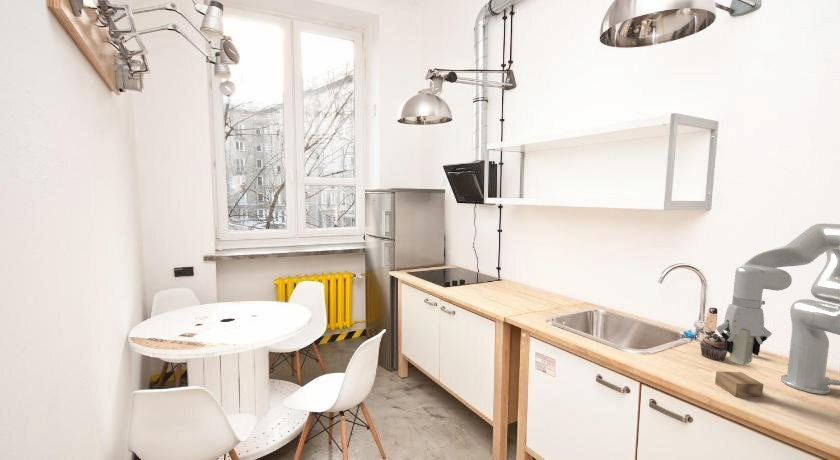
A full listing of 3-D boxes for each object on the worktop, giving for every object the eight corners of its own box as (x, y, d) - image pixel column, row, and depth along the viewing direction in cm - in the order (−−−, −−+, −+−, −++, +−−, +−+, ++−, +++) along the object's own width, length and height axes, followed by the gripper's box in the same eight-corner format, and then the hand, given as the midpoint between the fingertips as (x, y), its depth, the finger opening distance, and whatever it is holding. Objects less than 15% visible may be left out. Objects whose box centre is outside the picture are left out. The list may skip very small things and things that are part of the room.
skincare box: (737, 357, 135) (740, 324, 134) (752, 362, 132) (756, 328, 131) (728, 360, 133) (731, 326, 132) (743, 365, 129) (747, 331, 128)
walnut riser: (739, 385, 137) (741, 372, 137) (761, 398, 128) (763, 384, 128) (715, 384, 138) (716, 371, 137) (735, 397, 129) (736, 383, 128)
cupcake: (733, 361, 158) (735, 338, 157) (714, 362, 156) (716, 339, 155) (711, 352, 167) (713, 330, 167) (693, 353, 166) (695, 330, 165)
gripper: (767, 302, 132) (762, 351, 134) (711, 298, 136) (707, 346, 137) (783, 308, 125) (777, 359, 127) (724, 303, 128) (719, 354, 130)
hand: (741, 352), depth 132 cm, fingers closed on skincare box, 7 cm apart
